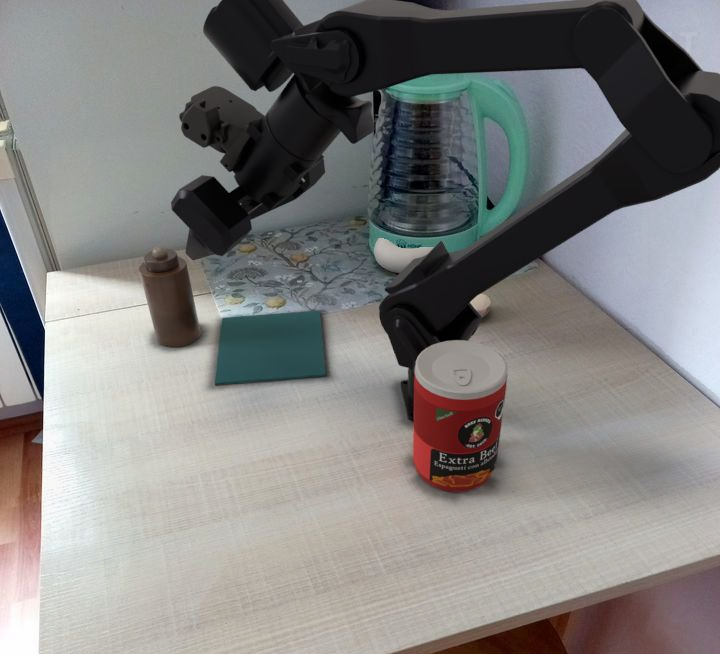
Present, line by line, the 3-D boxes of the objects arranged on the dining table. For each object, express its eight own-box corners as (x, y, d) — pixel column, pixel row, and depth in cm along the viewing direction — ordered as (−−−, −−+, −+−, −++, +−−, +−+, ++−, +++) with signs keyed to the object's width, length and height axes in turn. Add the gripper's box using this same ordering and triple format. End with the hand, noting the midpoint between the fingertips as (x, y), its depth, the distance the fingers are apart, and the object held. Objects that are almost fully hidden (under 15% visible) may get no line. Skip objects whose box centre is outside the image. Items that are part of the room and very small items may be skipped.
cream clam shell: (483, 326, 84) (485, 306, 82) (443, 318, 85) (444, 299, 84) (493, 309, 87) (495, 290, 85) (454, 302, 88) (455, 283, 86)
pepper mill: (204, 341, 83) (186, 251, 76) (160, 351, 82) (137, 260, 74) (196, 321, 87) (177, 233, 79) (153, 330, 85) (130, 241, 78)
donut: (430, 243, 102) (364, 252, 100) (431, 219, 99) (363, 229, 97) (458, 272, 94) (387, 283, 92) (460, 248, 92) (387, 259, 90)
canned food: (430, 502, 61) (434, 400, 54) (400, 446, 67) (401, 348, 60) (510, 483, 63) (525, 382, 56) (475, 430, 69) (484, 332, 62)
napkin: (325, 376, 77) (325, 374, 77) (215, 385, 76) (214, 382, 76) (319, 312, 87) (319, 310, 87) (222, 319, 87) (222, 317, 87)
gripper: (283, 32, 66) (210, 145, 77) (161, 87, 54) (95, 212, 65) (364, 127, 68) (282, 223, 80) (265, 201, 56) (184, 302, 67)
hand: (216, 236), depth 73 cm, fingers open, 9 cm apart
